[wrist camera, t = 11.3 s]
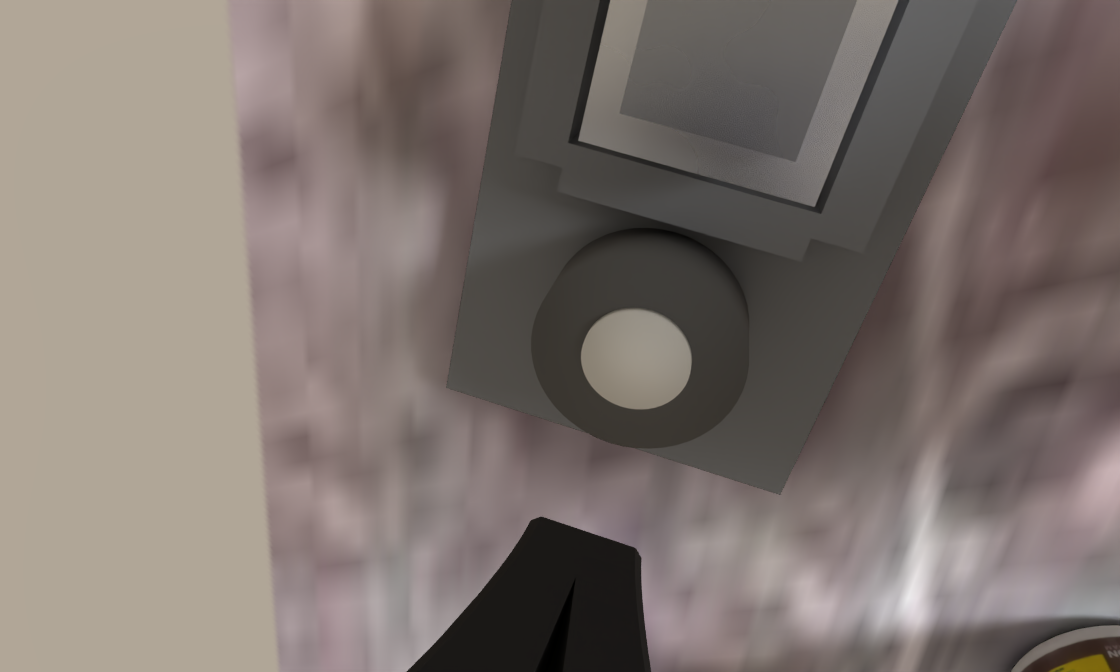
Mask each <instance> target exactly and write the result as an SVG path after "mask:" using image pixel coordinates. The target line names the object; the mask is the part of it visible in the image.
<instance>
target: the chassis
mask: <svg viewBox="0 0 1120 672" xmlns="http://www.w3.org/2000/svg"><path fill="white" fill-rule="evenodd" d="M1016 2H1017V0H899V1H898V3H897V6H896V8H895V10H894V13H893V15H892V18H891V20H890V23H889V25H888V28H887V30H886V33H885V35H884V38H883V40H882V42H881V45H880V47H879V50H878V52H877V55H876V57H875V60H874V62H873V65H872V67H871V69H870V72H869V74H868V77H867V79H866V82H865V84H864V87H863V89H862V92H861V94H860V97H859V99H858V101H857V104H856V106H855V109H854V111H853V114H852V116H851V119H850V121H849V124H848V126H847V128H846V131H845V133H844V136H843V138H842V141H841V143H840V146H839V148H838V151H837V153H836V156H835V158H834V160H833V163H832V165H831V168H830V170H829V173H828V175H827V178H826V180H825V183H824V185H823V188H822V190H821V192H820V195H819V197H818V200H817V202H816V205H815V207H813V206H809V205H806V204H802V203H799V202H795V201H791V200H788V199H784V198H781V197H777V196H774V195H770V194H766V193H763V192H759V191H756V190H752V189H749V188H745V187H742V186H738V185H734V184H731V183H727V182H724V181H720V180H717V179H713V178H710V177H706V176H702V175H699V174H695V173H692V172H688V171H685V170H681V169H677V168H674V167H670V166H667V165H663V164H660V163H656V162H653V161H649V160H645V159H642V158H638V157H635V156H631V155H628V154H624V153H620V152H617V151H613V150H610V149H606V148H603V147H599V146H596V145H592V144H588V143H585V142H581V141H578V139H579V135H580V130H581V126H582V122H583V117H584V113H585V109H586V104H587V100H588V96H589V91H590V87H591V82H592V78H593V74H594V69H595V65H596V61H597V56H598V52H599V48H600V43H601V39H602V35H603V30H604V26H605V22H606V17H607V13H608V8H609V4H610V0H512V2H511V8H510V14H509V20H508V26H507V32H506V38H505V44H504V50H503V56H502V61H501V67H500V73H499V79H498V85H497V91H496V97H495V103H494V109H493V115H492V121H491V126H490V132H489V138H488V144H487V150H486V156H485V162H484V168H483V174H482V180H481V186H480V191H479V197H478V203H477V209H476V215H475V221H474V227H473V233H472V239H471V245H470V251H469V256H468V262H467V268H466V274H465V280H464V286H463V292H462V298H461V304H460V310H459V316H458V321H457V327H456V333H455V339H454V345H453V351H452V357H451V363H450V369H449V375H448V381H447V386H446V388H449V389H452V390H455V391H458V392H461V393H464V394H467V395H470V396H474V397H477V398H480V399H483V400H486V401H489V402H492V403H495V404H498V405H502V406H505V407H508V408H511V409H514V410H517V411H520V412H523V413H526V414H530V415H533V416H536V417H539V418H542V419H545V420H548V421H551V422H555V423H558V424H561V425H564V426H567V427H570V428H573V429H576V430H579V431H583V430H582V429H580V428H579V427H577V426H576V425H574V424H573V423H572V422H571V421H569V420H568V419H567V418H566V417H564V416H563V415H562V414H561V412H560V411H559V410H558V409H557V408H556V407H555V406H554V405H553V403H552V402H551V401H550V400H549V398H548V397H547V395H546V394H545V392H544V390H543V388H542V387H541V385H540V382H539V380H538V378H537V375H536V372H535V369H534V365H533V361H532V353H531V335H532V329H533V324H534V321H535V317H536V314H537V312H538V310H539V308H540V306H541V303H542V302H543V300H544V298H545V297H546V295H547V293H548V292H549V290H550V289H551V287H552V285H553V284H554V282H555V281H556V279H557V277H558V276H559V274H560V272H561V271H562V269H563V268H564V267H565V265H566V264H567V262H568V261H569V260H570V259H571V258H572V257H573V256H574V255H575V254H576V253H577V252H578V251H579V250H581V249H582V248H583V247H584V246H586V245H587V244H589V243H590V242H592V241H594V240H595V239H598V238H600V237H602V236H604V235H606V234H609V233H613V232H616V231H619V230H625V229H631V228H656V229H664V230H668V231H672V232H676V233H679V234H682V235H685V236H687V237H690V238H692V239H694V240H696V241H697V242H699V243H701V244H703V245H704V246H706V247H707V248H709V249H710V250H712V251H713V252H714V253H715V254H716V255H717V256H718V257H720V258H721V259H722V260H723V261H724V262H725V264H726V265H727V266H728V267H729V268H730V269H731V271H732V272H733V274H734V275H735V277H736V278H737V280H738V282H739V284H740V286H741V288H742V290H743V292H744V295H745V299H746V302H747V306H748V313H749V369H748V375H747V380H746V383H745V386H744V389H743V392H742V394H741V396H740V398H739V400H738V402H737V403H736V404H735V406H734V407H733V409H732V410H731V412H730V413H729V414H728V415H727V416H726V417H725V418H724V419H723V420H722V421H721V422H720V423H719V424H718V425H716V426H715V427H714V428H713V429H711V430H710V431H708V432H706V433H705V434H703V435H701V436H700V437H697V438H695V439H693V440H691V441H688V442H685V443H682V444H679V445H675V446H670V447H664V448H652V449H646V448H636V449H639V450H642V451H645V452H648V453H651V454H654V455H657V456H660V457H664V458H667V459H670V460H673V461H676V462H679V463H682V464H685V465H688V466H692V467H695V468H698V469H701V470H704V471H707V472H710V473H713V474H717V475H720V476H723V477H726V478H729V479H732V480H735V481H738V482H741V483H745V484H748V485H751V486H754V487H757V488H760V489H763V490H766V491H769V492H773V493H776V494H779V495H780V494H781V492H782V490H783V488H784V486H785V483H786V481H787V479H788V477H789V475H790V473H791V471H792V469H793V467H794V465H795V463H796V461H797V458H798V456H799V454H800V452H801V450H802V448H803V446H804V444H805V442H806V440H807V438H808V436H809V433H810V431H811V429H812V427H813V425H814V423H815V421H816V419H817V417H818V415H819V413H820V411H821V408H822V406H823V404H824V402H825V400H826V398H827V396H828V394H829V392H830V390H831V388H832V385H833V383H834V381H835V379H836V377H837V375H838V373H839V371H840V369H841V367H842V365H843V363H844V360H845V358H846V356H847V354H848V352H849V350H850V348H851V346H852V344H853V342H854V340H855V338H856V335H857V333H858V331H859V329H860V327H861V325H862V323H863V321H864V319H865V317H866V315H867V313H868V310H869V308H870V306H871V304H872V302H873V300H874V298H875V296H876V294H877V292H878V290H879V287H880V285H881V283H882V281H883V279H884V277H885V275H886V273H887V271H888V269H889V267H890V265H891V262H892V260H893V258H894V256H895V254H896V252H897V250H898V248H899V246H900V244H901V242H902V240H903V237H904V235H905V233H906V231H907V229H908V227H909V225H910V223H911V221H912V219H913V217H914V215H915V212H916V210H917V208H918V206H919V204H920V202H921V200H922V198H923V196H924V194H925V192H926V189H927V187H928V185H929V183H930V181H931V179H932V177H933V175H934V173H935V171H936V169H937V167H938V164H939V162H940V160H941V158H942V156H943V154H944V152H945V150H946V148H947V146H948V144H949V142H950V139H951V137H952V135H953V133H954V131H955V129H956V127H957V125H958V123H959V121H960V119H961V117H962V114H963V112H964V110H965V108H966V106H967V104H968V102H969V100H970V98H971V96H972V94H973V91H974V89H975V87H976V85H977V83H978V81H979V79H980V77H981V75H982V73H983V71H984V69H985V66H986V64H987V62H988V60H989V58H990V56H991V54H992V52H993V50H994V48H995V46H996V44H997V41H998V39H999V37H1000V35H1001V33H1002V31H1003V29H1004V27H1005V25H1006V23H1007V21H1008V19H1009V16H1010V14H1011V12H1012V10H1013V8H1014V6H1015V4H1016ZM583 432H585V431H583ZM586 433H587V432H586Z"/></svg>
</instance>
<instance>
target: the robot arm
mask: <svg viewBox="0 0 1120 672" xmlns="http://www.w3.org/2000/svg"><path fill="white" fill-rule="evenodd" d="M407 672H651V668H650V661H649V655H648V647H647V639H646V631H645V623H644V613H643V602H642V586H641V556H640V555H639V553H638V551H637V550H636V548H634V547H631V546H628V545H625V544H622V543H619V542H616V541H613V540H610V539H607V538H604V537H601V536H598V535H595V534H592V533H589V532H586V531H583V530H580V529H577V528H574V527H571V526H568V525H565V524H562V523H559V522H556V521H553V520H550V519H547V518H544V517H539V518H536V519H533V520H531V521H530V523H529V525H528V527H527V528H526V530H525V532H524V534H523V535H522V537H521V538H520V540H519V541H518V543H517V544H516V546H515V547H514V549H513V550H512V552H511V553H510V555H509V556H508V557H507V559H506V560H505V562H504V563H503V564H502V566H501V567H500V568H499V569H498V571H497V572H496V573H495V574H494V576H493V577H492V578H491V579H490V581H489V582H488V583H487V584H486V586H485V587H484V588H483V589H482V591H481V592H480V593H479V594H478V595H477V597H476V598H475V599H474V600H473V601H472V602H471V603H470V605H469V606H468V607H467V608H466V609H465V610H464V611H463V612H462V614H461V615H460V616H459V617H458V618H457V619H456V620H455V621H454V623H453V624H452V625H451V626H450V627H449V628H448V629H447V631H446V632H445V633H444V634H443V635H442V636H441V637H440V638H439V639H438V640H437V641H436V643H435V644H434V645H433V646H432V647H431V648H430V649H429V650H428V651H427V652H426V653H425V654H424V655H423V656H422V657H421V658H420V659H419V660H418V661H417V662H416V663H415V664H414V665H413V666H412V667H411V668H410V669H409V670H408V671H407Z"/></svg>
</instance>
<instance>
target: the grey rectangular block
mask: <svg viewBox="0 0 1120 672" xmlns="http://www.w3.org/2000/svg"><path fill="white" fill-rule="evenodd" d="M898 1H899V0H610V4H609V8H608V13H607V17H606V22H605V26H604V30H603V35H602V39H601V43H600V48H599V52H598V56H597V61H596V65H595V69H594V74H593V78H592V82H591V87H590V91H589V96H588V100H587V104H586V109H585V113H584V117H583V122H582V126H581V130H580V135H579V139H578V141H581V142H585V143H588V144H592V145H596V146H599V147H603V148H606V149H610V150H613V151H617V152H620V153H624V154H628V155H631V156H635V157H638V158H642V159H645V160H649V161H653V162H656V163H660V164H663V165H667V166H670V167H674V168H677V169H681V170H685V171H688V172H692V173H695V174H699V175H702V176H706V177H710V178H713V179H717V180H720V181H724V182H727V183H731V184H734V185H738V186H742V187H745V188H749V189H752V190H756V191H759V192H763V193H766V194H770V195H774V196H777V197H781V198H784V199H788V200H791V201H795V202H799V203H802V204H806V205H809V206H813V207H815V205H816V202H817V200H818V197H819V195H820V192H821V190H822V188H823V185H824V183H825V180H826V178H827V175H828V173H829V170H830V168H831V165H832V163H833V160H834V158H835V156H836V153H837V151H838V148H839V146H840V143H841V141H842V138H843V136H844V133H845V131H846V128H847V126H848V124H849V121H850V119H851V116H852V114H853V111H854V109H855V106H856V104H857V101H858V99H859V97H860V94H861V92H862V89H863V87H864V84H865V82H866V79H867V77H868V74H869V72H870V69H871V67H872V65H873V62H874V60H875V57H876V55H877V52H878V50H879V47H880V45H881V42H882V40H883V38H884V35H885V33H886V30H887V28H888V25H889V23H890V20H891V18H892V15H893V13H894V10H895V8H896V6H897V3H898Z"/></svg>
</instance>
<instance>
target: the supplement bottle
mask: <svg viewBox="0 0 1120 672" xmlns="http://www.w3.org/2000/svg"><path fill="white" fill-rule="evenodd" d="M1011 672H1120V625H1108V626H1095V627H1088V628H1082V629H1078V630H1074V631H1070V632H1067V633H1063V634H1061V635H1058V636H1056V637H1053V638H1051V639H1049V640H1047V641H1045V642H1043V643H1041V644H1039V645H1038V646H1036V647H1034V648H1033V649H1032V650H1031V651H1029V652H1028V653H1027V654H1026V655H1025V656H1023V657H1022V658H1021V659H1020V660H1019V661H1018V663H1017V664H1016V665H1015V666H1014V668H1013V669H1012V671H1011Z"/></svg>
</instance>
